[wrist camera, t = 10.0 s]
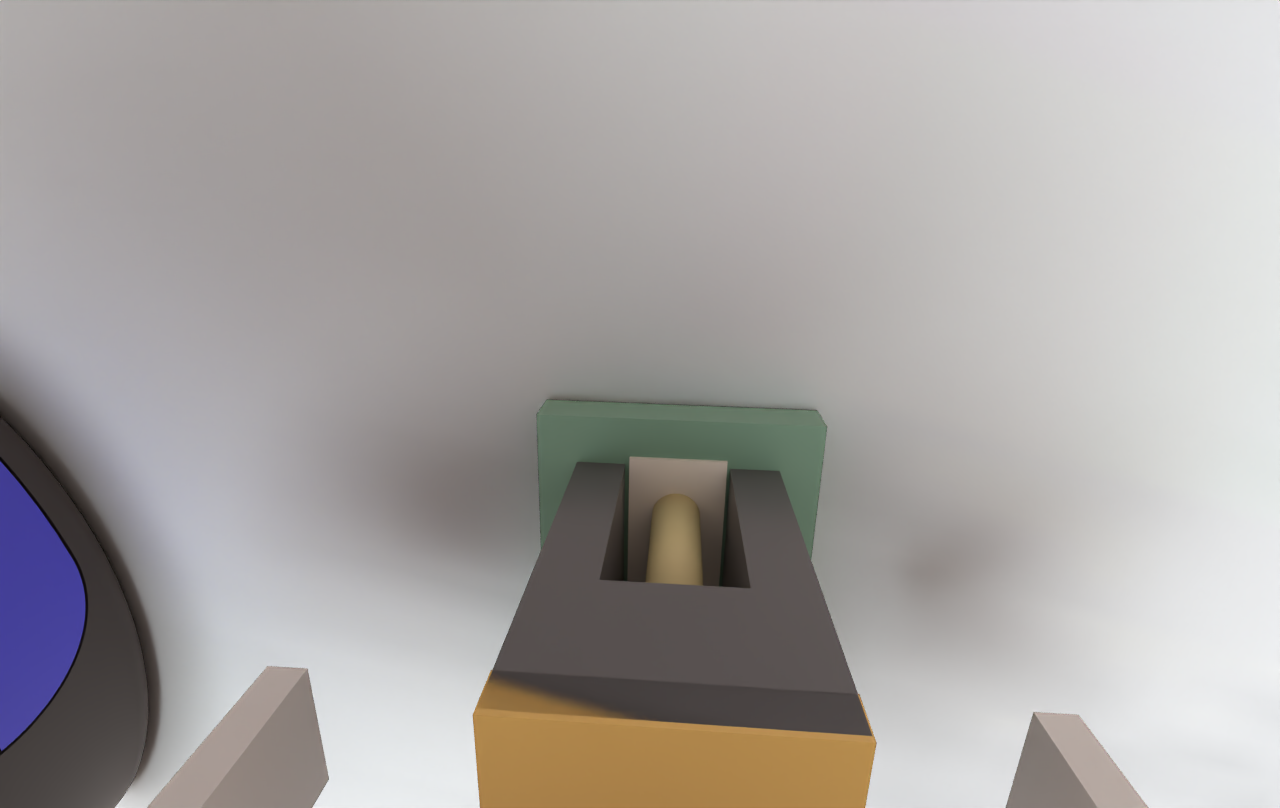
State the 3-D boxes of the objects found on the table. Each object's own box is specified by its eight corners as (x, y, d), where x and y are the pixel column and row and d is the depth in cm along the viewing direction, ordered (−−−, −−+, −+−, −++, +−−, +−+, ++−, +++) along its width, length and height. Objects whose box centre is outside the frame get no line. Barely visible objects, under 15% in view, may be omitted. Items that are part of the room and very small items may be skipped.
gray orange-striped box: (576, 461, 16) (473, 715, 8) (780, 470, 15) (876, 743, 8) (579, 716, 18) (502, 1095, 10) (755, 728, 18) (808, 1127, 10)
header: (547, 399, 16) (481, 495, 11) (816, 410, 16) (882, 514, 11) (555, 704, 20) (507, 892, 14) (781, 719, 19) (818, 918, 14)
